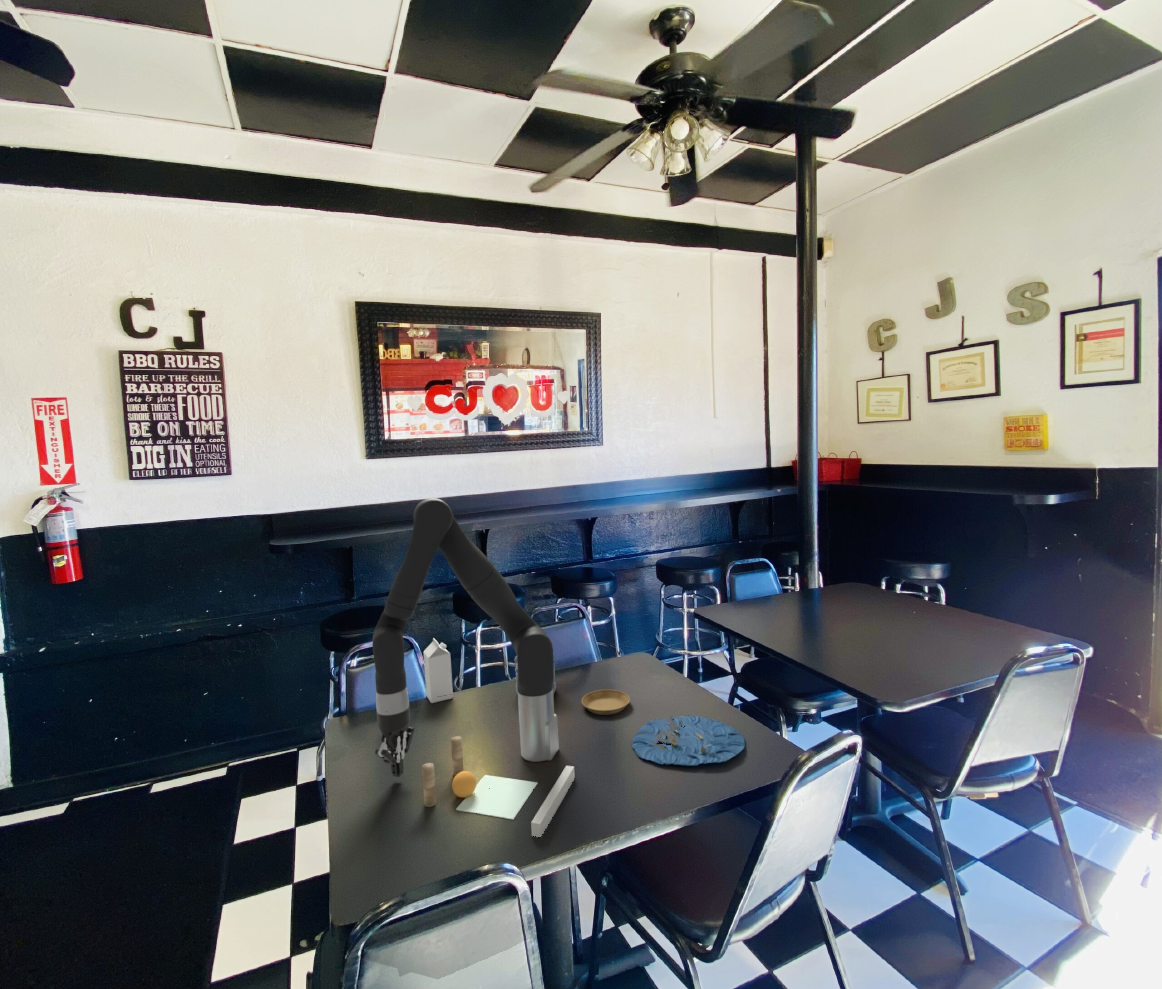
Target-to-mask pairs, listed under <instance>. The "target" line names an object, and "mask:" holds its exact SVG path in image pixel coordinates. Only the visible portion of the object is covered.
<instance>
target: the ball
mask: <svg viewBox="0 0 1162 989" xmlns="http://www.w3.org/2000/svg"><path fill="white" fill-rule="evenodd" d="M451 784H452V785H451V787H452V790H453V793H454V794H455V796H457V797H458V798H466V797H468V796H470V795H471V794H472V793H473V792H474V790H475V788H476V785H477V779H476V776H475V775H474V774H473V773H472V772H470V771H469V770H464V771H462V772H460V773H458V774H457V775H456V776H454V778H453V780H452V783H451Z"/></svg>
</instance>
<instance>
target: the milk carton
mask: <svg viewBox="0 0 1162 989" xmlns="http://www.w3.org/2000/svg"><path fill="white" fill-rule="evenodd" d="M446 648H447V644H445V643H444V642H440V644H439V642H438V641H437V640H436V639H435V638H434V637H433V638H432V641H431V643H430V644H429V645H428V646H427V647H426V648H425V649H424V651H423V665H424V678H425V679H424V681H425V694H426V697H427V699H428V700H429V702H430V703H431V704H435V703H438V702H443V701H446V700H451V699H453V698H454V692H453V689H454V688H453V677H452V676H453V675H452V660H451V652H449V651H448V650H447V649H446ZM449 694H453V695H449ZM443 695H447V696H443ZM437 696H442V697H437Z"/></svg>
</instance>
